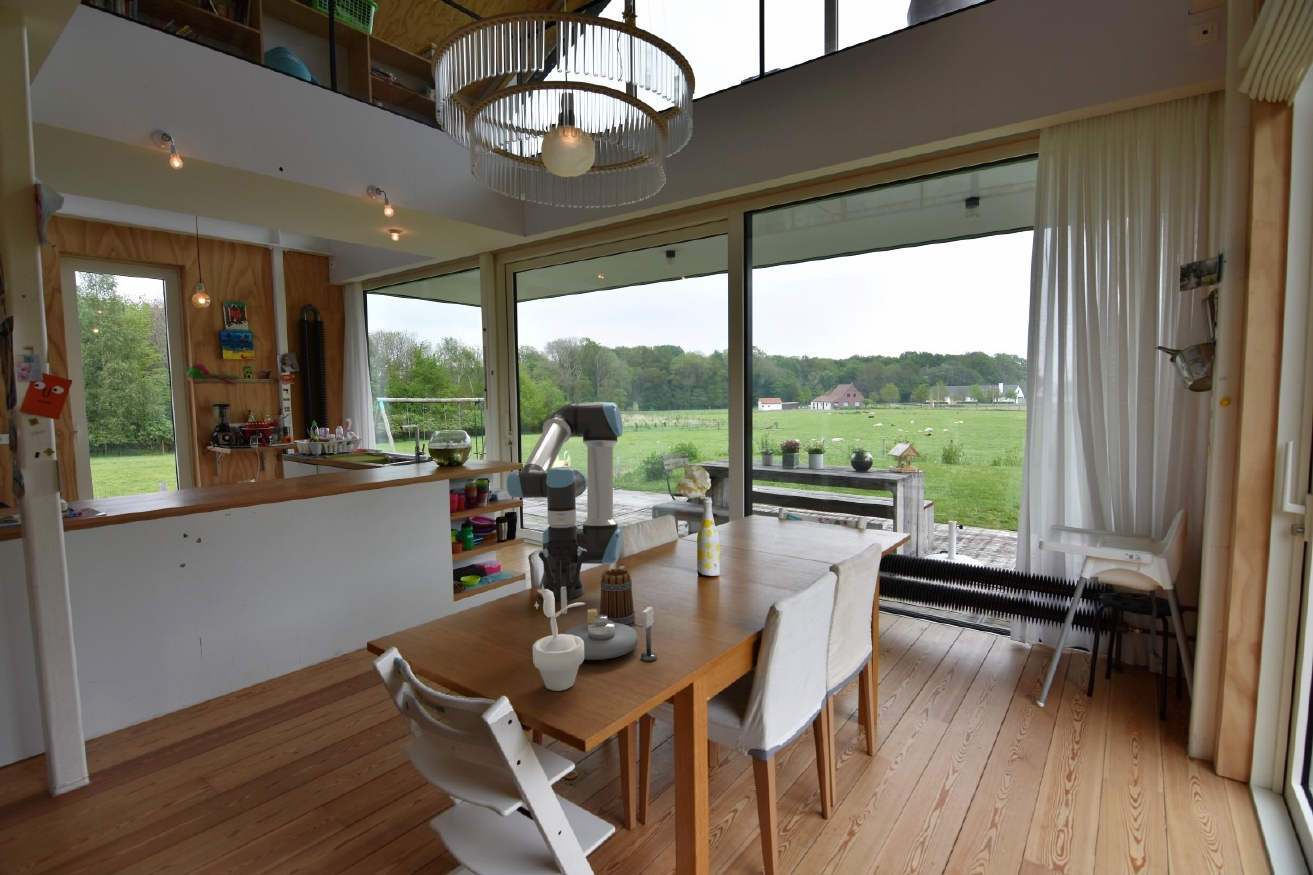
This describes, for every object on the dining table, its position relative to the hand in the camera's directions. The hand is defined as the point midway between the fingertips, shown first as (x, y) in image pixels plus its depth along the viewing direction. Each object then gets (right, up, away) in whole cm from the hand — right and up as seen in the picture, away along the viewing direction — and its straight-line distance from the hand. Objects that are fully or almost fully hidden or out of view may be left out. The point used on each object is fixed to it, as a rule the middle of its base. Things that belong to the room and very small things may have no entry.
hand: (564, 611), depth 165 cm
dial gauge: (+22, -9, -10) cm, 26 cm away
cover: (+11, -5, -5) cm, 13 cm away
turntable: (+10, -7, -5) cm, 13 cm away
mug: (+14, -7, +17) cm, 23 cm away
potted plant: (+3, -10, -25) cm, 27 cm away
